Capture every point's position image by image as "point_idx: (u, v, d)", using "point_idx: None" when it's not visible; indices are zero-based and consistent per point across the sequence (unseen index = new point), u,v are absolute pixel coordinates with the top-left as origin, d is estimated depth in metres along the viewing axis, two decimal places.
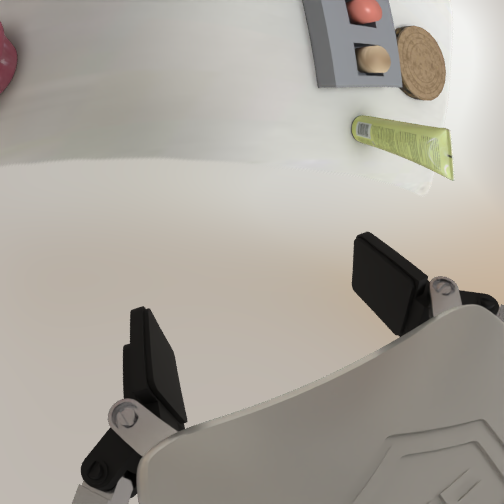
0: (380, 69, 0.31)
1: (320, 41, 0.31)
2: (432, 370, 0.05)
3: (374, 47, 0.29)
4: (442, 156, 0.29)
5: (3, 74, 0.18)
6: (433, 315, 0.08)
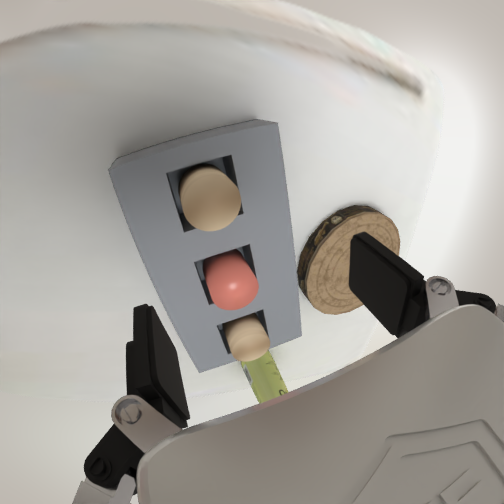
0: (251, 358, 0.31)
1: None
2: (432, 370, 0.05)
3: (240, 341, 0.29)
4: None
5: None
6: (430, 315, 0.08)
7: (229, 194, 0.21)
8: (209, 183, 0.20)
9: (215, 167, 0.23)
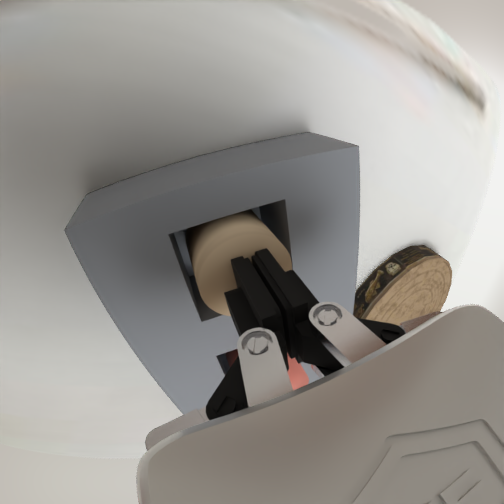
0: None
1: None
2: (432, 370, 0.05)
3: None
4: None
5: None
6: (342, 353, 0.07)
7: None
8: (244, 247, 0.12)
9: None
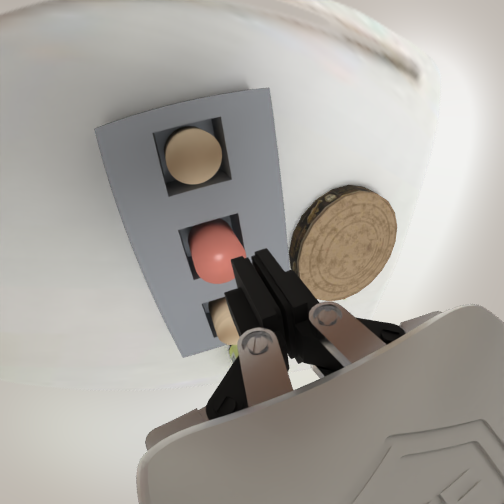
0: None
1: None
2: (432, 370, 0.05)
3: (226, 320, 0.27)
4: None
5: None
6: (341, 353, 0.07)
7: (211, 149, 0.21)
8: (192, 137, 0.20)
9: None
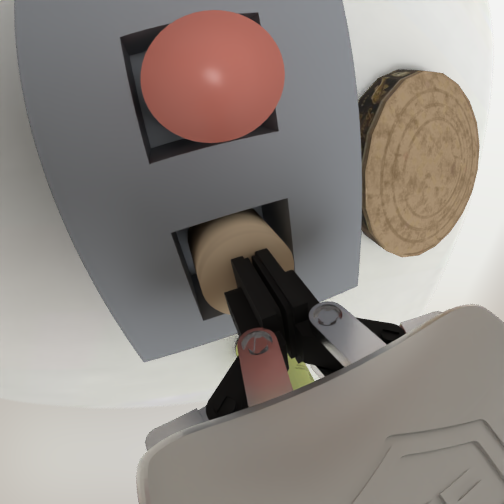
0: None
1: None
2: (432, 370, 0.05)
3: (222, 250, 0.12)
4: None
5: None
6: (341, 353, 0.07)
7: None
8: None
9: None
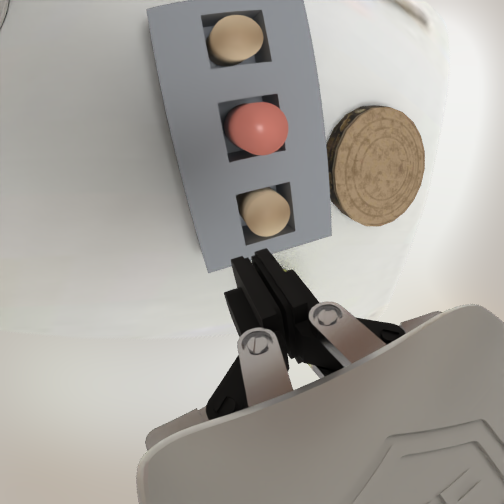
0: (268, 231, 0.28)
1: None
2: (432, 370, 0.05)
3: (257, 200, 0.26)
4: None
5: None
6: (341, 353, 0.07)
7: (253, 31, 0.18)
8: (236, 20, 0.18)
9: None
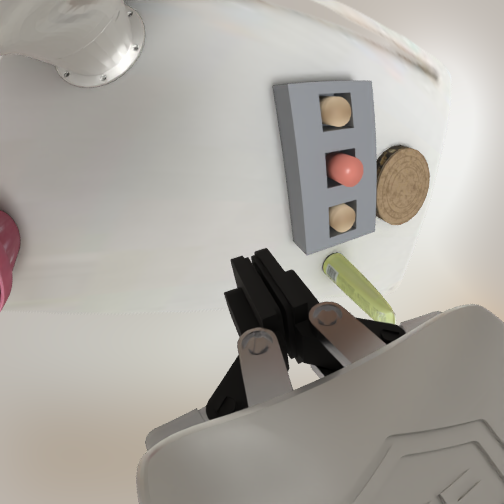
0: (343, 229, 0.44)
1: (296, 207, 0.43)
2: (432, 370, 0.05)
3: (340, 210, 0.42)
4: None
5: (14, 262, 0.30)
6: (341, 353, 0.07)
7: (346, 108, 0.34)
8: (338, 100, 0.33)
9: None
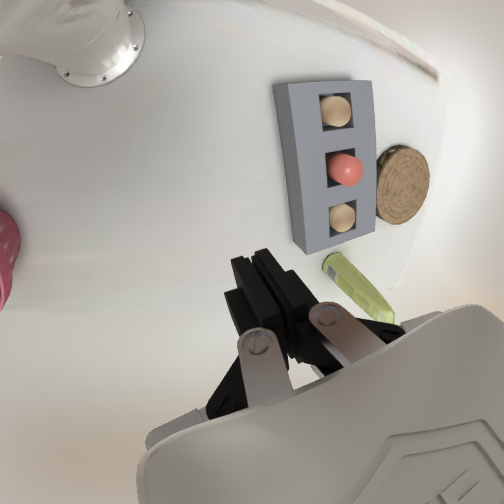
0: (343, 229, 0.44)
1: (296, 207, 0.43)
2: (432, 370, 0.05)
3: (340, 210, 0.42)
4: None
5: (14, 262, 0.30)
6: (341, 353, 0.07)
7: (346, 108, 0.34)
8: (338, 100, 0.33)
9: None
